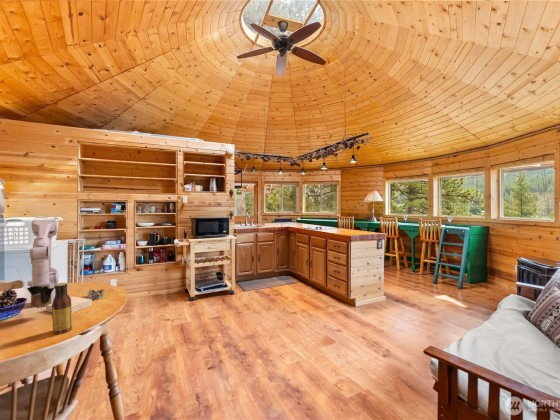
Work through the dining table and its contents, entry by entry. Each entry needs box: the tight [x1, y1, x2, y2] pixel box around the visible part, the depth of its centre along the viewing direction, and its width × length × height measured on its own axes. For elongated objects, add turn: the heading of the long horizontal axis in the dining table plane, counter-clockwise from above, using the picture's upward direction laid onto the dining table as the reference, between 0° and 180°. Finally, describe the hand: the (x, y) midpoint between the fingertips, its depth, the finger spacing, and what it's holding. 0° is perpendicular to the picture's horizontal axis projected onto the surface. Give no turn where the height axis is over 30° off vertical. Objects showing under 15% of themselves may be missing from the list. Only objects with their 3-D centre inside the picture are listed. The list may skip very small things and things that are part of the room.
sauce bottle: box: [51, 282, 73, 335], centre depth 107 cm, size 7×6×20 cm
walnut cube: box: [30, 293, 51, 309], centre depth 120 cm, size 5×5×5 cm
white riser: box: [45, 296, 93, 314], centre depth 131 cm, size 14×12×3 cm
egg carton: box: [86, 288, 105, 301], centre depth 146 cm, size 11×8×4 cm
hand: (41, 302), depth 120 cm, fingers closed on walnut cube, 5 cm apart
